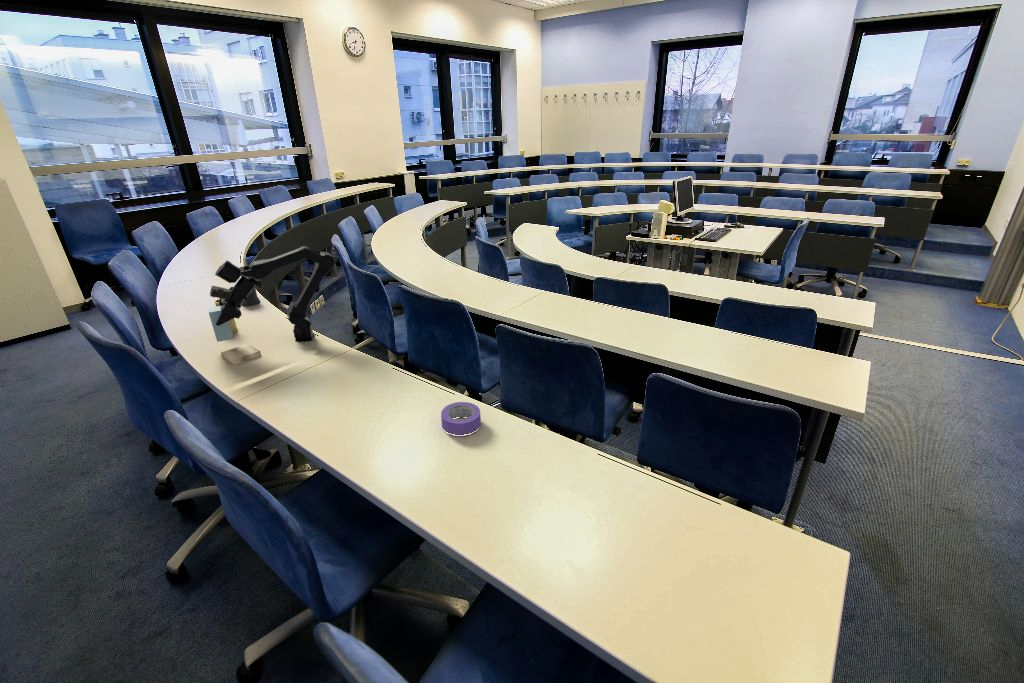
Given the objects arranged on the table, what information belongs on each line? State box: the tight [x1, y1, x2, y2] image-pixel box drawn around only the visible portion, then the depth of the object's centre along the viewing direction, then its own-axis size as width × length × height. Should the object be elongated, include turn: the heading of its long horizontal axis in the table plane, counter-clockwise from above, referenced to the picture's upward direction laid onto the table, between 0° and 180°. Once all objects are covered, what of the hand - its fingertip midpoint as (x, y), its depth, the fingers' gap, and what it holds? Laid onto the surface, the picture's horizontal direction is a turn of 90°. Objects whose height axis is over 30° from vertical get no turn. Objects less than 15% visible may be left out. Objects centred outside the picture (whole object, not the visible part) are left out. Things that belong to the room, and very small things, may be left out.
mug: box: [241, 286, 261, 307], centre depth 234 cm, size 12×9×11 cm
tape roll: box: [440, 401, 482, 435], centre depth 141 cm, size 12×12×5 cm
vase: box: [214, 298, 238, 334], centre depth 200 cm, size 6×6×14 cm
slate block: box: [207, 306, 234, 343], centre depth 179 cm, size 6×6×12 cm
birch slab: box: [220, 343, 262, 366], centre depth 179 cm, size 10×10×2 cm
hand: (216, 322), depth 178 cm, fingers closed on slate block, 5 cm apart
